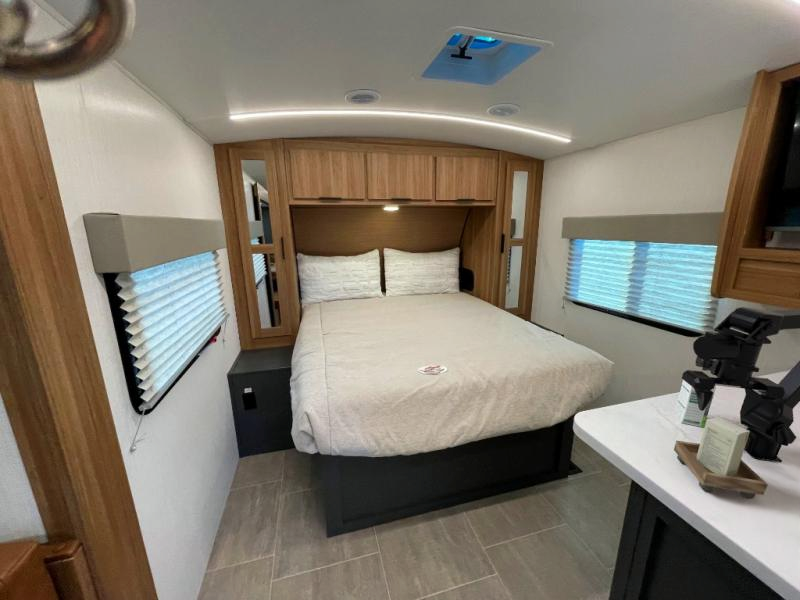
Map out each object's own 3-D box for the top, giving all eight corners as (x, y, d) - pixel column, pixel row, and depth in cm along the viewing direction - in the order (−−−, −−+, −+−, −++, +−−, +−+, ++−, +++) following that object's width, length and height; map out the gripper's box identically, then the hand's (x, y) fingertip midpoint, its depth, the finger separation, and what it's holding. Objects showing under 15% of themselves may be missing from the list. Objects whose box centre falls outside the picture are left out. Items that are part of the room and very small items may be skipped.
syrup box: (680, 423, 100) (693, 382, 96) (673, 412, 105) (684, 373, 101) (704, 428, 98) (717, 386, 94) (695, 417, 103) (707, 376, 99)
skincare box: (736, 475, 76) (752, 432, 72) (724, 480, 74) (740, 435, 71) (704, 456, 81) (718, 415, 78) (693, 460, 80) (706, 418, 77)
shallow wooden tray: (722, 465, 83) (728, 448, 81) (760, 503, 72) (767, 484, 71) (671, 457, 85) (676, 440, 84) (700, 493, 74) (706, 474, 73)
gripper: (757, 349, 85) (739, 400, 89) (677, 342, 89) (663, 391, 93) (797, 368, 74) (775, 425, 79) (704, 359, 78) (687, 414, 83)
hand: (721, 412), depth 84 cm, fingers open, 9 cm apart
